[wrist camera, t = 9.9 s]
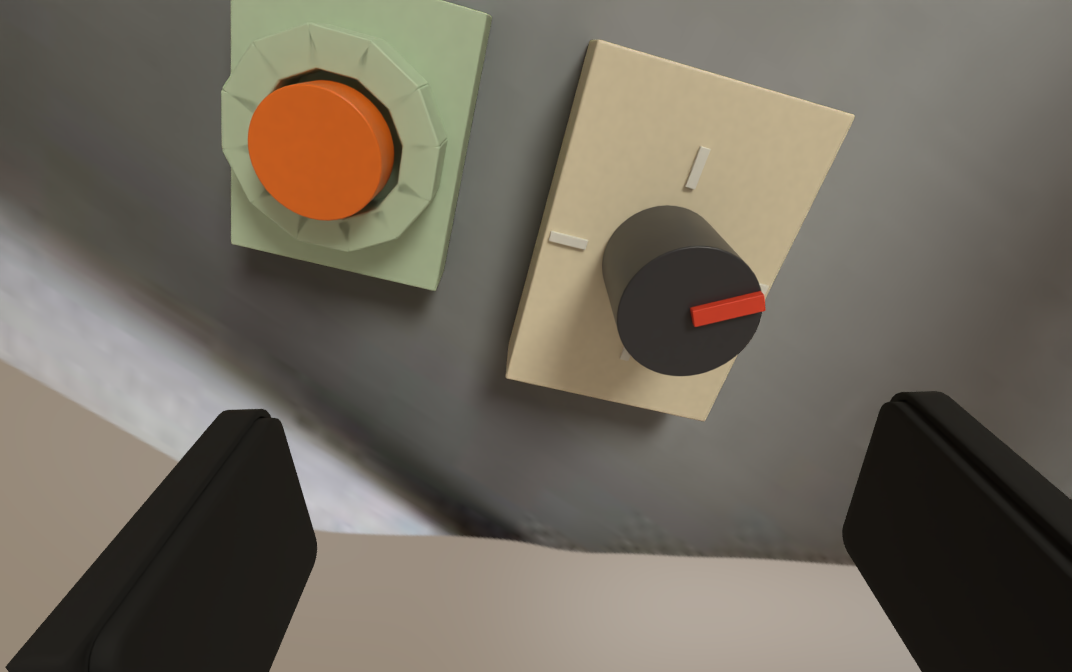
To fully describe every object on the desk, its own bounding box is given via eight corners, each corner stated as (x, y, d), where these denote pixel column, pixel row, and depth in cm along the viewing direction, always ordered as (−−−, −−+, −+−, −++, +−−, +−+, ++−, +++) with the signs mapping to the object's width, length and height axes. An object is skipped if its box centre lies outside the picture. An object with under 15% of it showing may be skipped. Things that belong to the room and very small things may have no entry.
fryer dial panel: (590, 39, 20) (598, 39, 17) (816, 105, 21) (859, 116, 18) (508, 344, 26) (504, 381, 23) (688, 385, 27) (705, 424, 24)
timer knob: (614, 327, 22) (632, 395, 18) (590, 223, 20) (604, 271, 16) (726, 300, 22) (772, 364, 17) (712, 190, 20) (760, 232, 15)
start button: (273, 64, 17) (247, 66, 16) (402, 99, 18) (389, 104, 16) (269, 190, 19) (245, 203, 17) (386, 219, 19) (373, 234, 18)
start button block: (261, -52, 19) (197, -73, 15) (492, 15, 20) (482, 11, 16) (256, 227, 23) (205, 260, 20) (443, 271, 24) (427, 311, 21)
